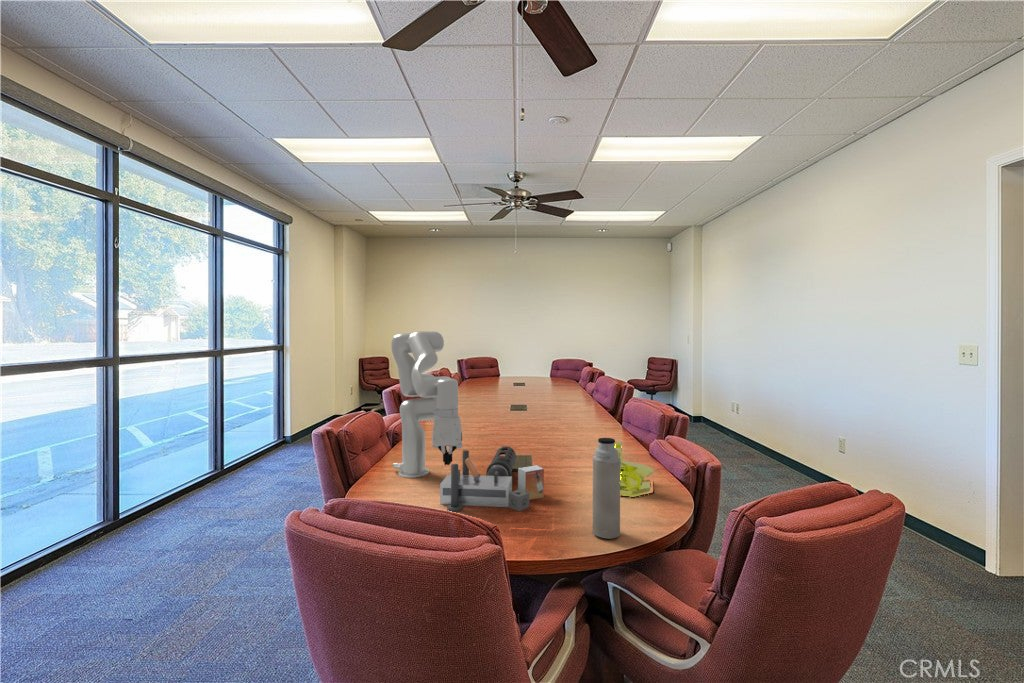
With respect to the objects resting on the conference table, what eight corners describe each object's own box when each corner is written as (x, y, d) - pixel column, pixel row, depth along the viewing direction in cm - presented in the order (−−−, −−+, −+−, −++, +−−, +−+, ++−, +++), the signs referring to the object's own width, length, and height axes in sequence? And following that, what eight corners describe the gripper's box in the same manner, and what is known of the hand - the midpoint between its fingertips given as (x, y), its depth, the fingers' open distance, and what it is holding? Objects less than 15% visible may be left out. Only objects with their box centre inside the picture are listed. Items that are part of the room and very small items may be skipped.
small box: (525, 501, 155) (525, 471, 155) (517, 496, 160) (517, 467, 160) (544, 497, 159) (544, 468, 159) (536, 492, 164) (536, 464, 164)
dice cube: (508, 507, 150) (508, 493, 150) (518, 503, 153) (518, 489, 153) (519, 511, 146) (519, 496, 146) (529, 507, 150) (529, 493, 150)
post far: (457, 492, 164) (457, 452, 164) (460, 487, 169) (460, 449, 169) (470, 493, 163) (470, 452, 163) (473, 488, 168) (473, 449, 168)
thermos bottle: (594, 525, 136) (595, 434, 135) (621, 528, 133) (621, 436, 133) (590, 536, 128) (590, 440, 128) (618, 540, 125) (619, 442, 125)
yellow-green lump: (602, 494, 162) (602, 452, 162) (607, 474, 186) (607, 437, 186) (654, 500, 157) (655, 456, 157) (653, 478, 181) (653, 440, 181)
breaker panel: (439, 504, 152) (439, 475, 152) (447, 493, 163) (447, 466, 163) (508, 507, 150) (508, 478, 149) (511, 495, 161) (512, 468, 161)
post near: (445, 511, 146) (445, 466, 146) (449, 505, 151) (449, 462, 151) (460, 512, 145) (460, 467, 145) (463, 506, 150) (463, 462, 150)
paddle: (475, 482, 155) (463, 461, 155) (477, 478, 158) (466, 458, 159) (479, 480, 154) (467, 459, 155) (481, 476, 158) (469, 456, 159)
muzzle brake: (516, 469, 194) (516, 445, 193) (510, 491, 166) (510, 464, 166) (495, 468, 194) (495, 445, 194) (485, 490, 167) (485, 463, 166)
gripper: (424, 414, 154) (424, 466, 155) (465, 415, 153) (465, 467, 153) (430, 411, 162) (430, 460, 162) (470, 411, 160) (470, 461, 160)
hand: (447, 463), depth 157 cm, fingers closed
